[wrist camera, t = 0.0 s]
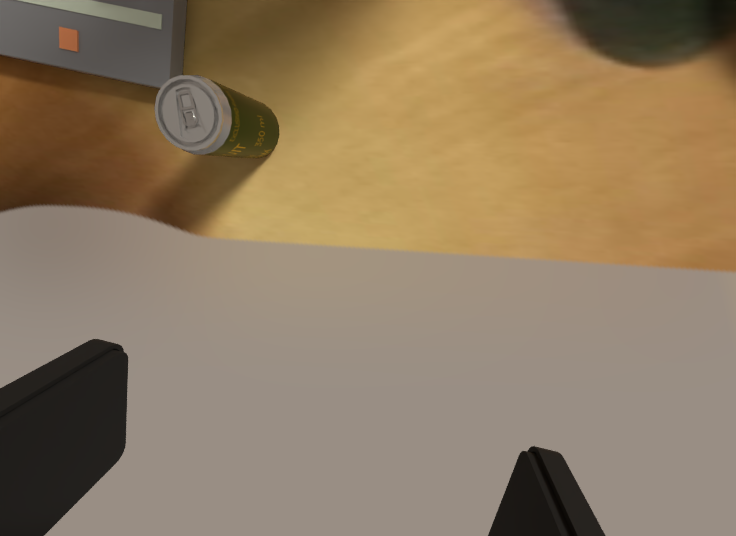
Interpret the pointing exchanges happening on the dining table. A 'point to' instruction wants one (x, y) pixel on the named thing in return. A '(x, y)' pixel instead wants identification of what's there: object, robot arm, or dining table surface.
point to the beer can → (214, 119)
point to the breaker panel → (98, 37)
